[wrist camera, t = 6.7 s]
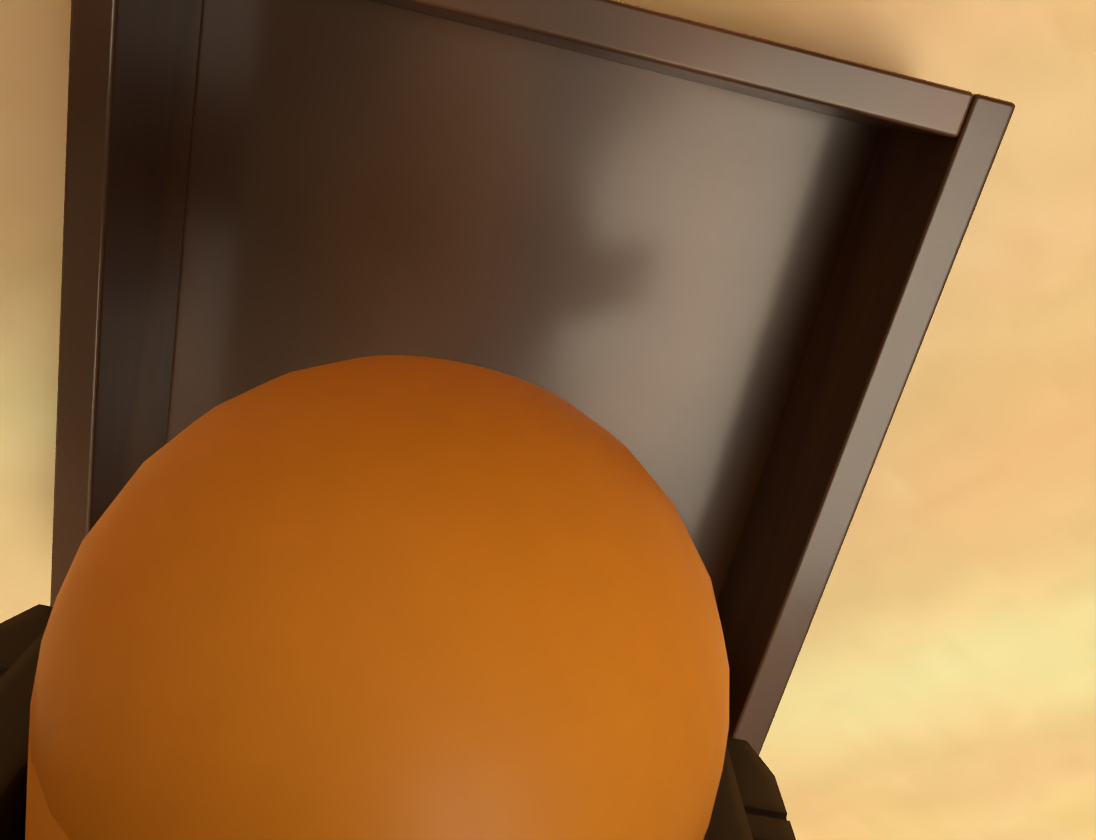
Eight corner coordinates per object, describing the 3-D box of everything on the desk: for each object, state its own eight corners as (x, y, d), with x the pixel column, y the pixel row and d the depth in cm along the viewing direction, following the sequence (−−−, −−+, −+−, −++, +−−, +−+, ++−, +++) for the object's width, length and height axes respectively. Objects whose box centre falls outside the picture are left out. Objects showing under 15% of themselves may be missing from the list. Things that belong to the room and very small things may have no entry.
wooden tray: (129, 581, 24) (45, 679, 20) (177, -90, 18) (73, -138, 14) (709, 694, 26) (739, 808, 21) (923, 99, 20) (1018, 103, 16)
